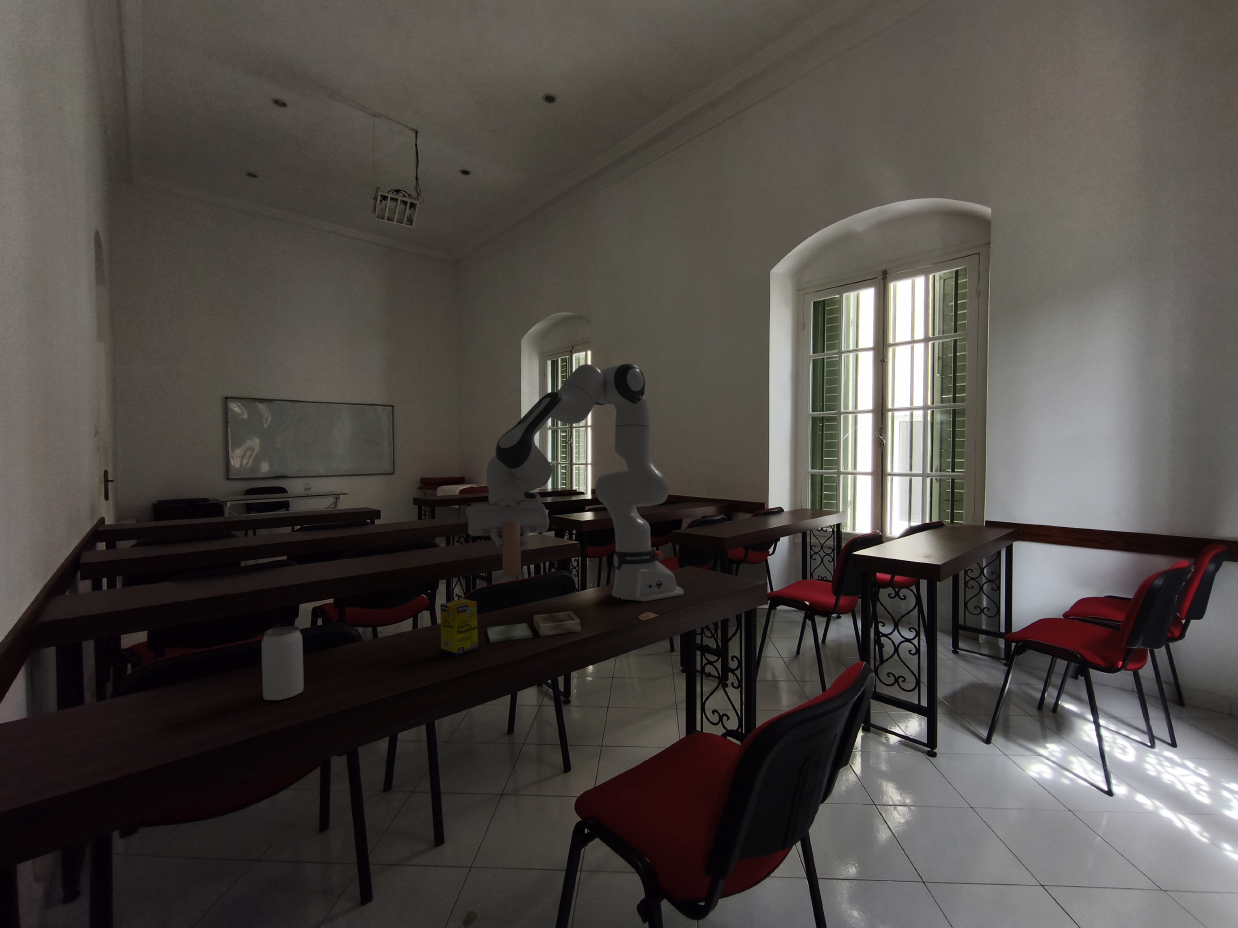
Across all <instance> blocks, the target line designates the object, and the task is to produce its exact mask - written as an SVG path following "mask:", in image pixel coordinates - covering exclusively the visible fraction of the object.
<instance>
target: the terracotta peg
mask: <svg viewBox="0 0 1238 928" xmlns="http://www.w3.org/2000/svg"><path fill="white" fill-rule="evenodd" d="M520 537H521V533H520V521H506V522H502V535H501V538H502V539H503V540H502V541H503V547H501V548H502V576H504V577H516V576H520V575H522V562H521V561H522V560H521V559H522V558H521V557H522V556H521V555H522V553H521V550H522V549H521V547H522V546H520Z"/></svg>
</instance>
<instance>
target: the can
mask: <svg viewBox="0 0 1238 928" xmlns="http://www.w3.org/2000/svg"><path fill="white" fill-rule="evenodd" d="M263 635H264V637H263V638H262V640H261V667H262V668H261V670H262V671H261V673H262V674H261V675H262V678H261V679H262V696H263V697H262V698H263V699H264V700H265V701H266V700H282V699H286V698H290V697H293V696H295V695H297V694H299V693H301V694H302V692H303V691H304V654H303V653H304V651H303V650H304V649H303V636H302V634H301V631H300V627H299V626H291V625H290V626H282V627H276V628H272V629H269V630H267V631H265V632H264V633H263ZM299 695H300V694H299Z"/></svg>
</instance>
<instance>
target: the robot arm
mask: <svg viewBox="0 0 1238 928" xmlns="http://www.w3.org/2000/svg"><path fill="white" fill-rule="evenodd" d="M645 388H646V379H645V375H644V373H643V371H642V369H641V368H640V367H639V366H638V365H637V364H632V363H623V364H620V365H614V366H610V367H607V368H605V369H601V370H600V369H599V368H598V367H597V366H595V365H592V364H589V363H588V364H587V363H583V364H581V365H579V366H578V367H577V368H575V369H574V370H573V372H571V373H570V375H569V376H568V377H567V378H566V380H565V381H564V382H563V384H562V385H561V387H560V388H559V389H558V390H557V391H550V392H547V393H546V394H545V395H543V396H542V397H540V399H538V401H537V402H536V403H535V404H534V405H533V406H532V407H531V408H530V409H529V410H528V411H527V412H526V413H525V414H524V415H523V417H522V418H521V419H520V420H518V421H517V422H516V423H515V425H514V426H513V427H511V428H510V429H509V430H507V431H506V432H505V433H504V434H502V435H501V437H499V439H498V440H497V443H496V447H495V455H493V456H492V457H491V458H490V459H489V462H488V464H487V467H486V486H487V489H488V494H487V496H488V497H487V498H488V503H478V504H477V503H474V504H473V503H472V504H471V505H468V506H467V507H466V509H465V516H466V517H467V518H468V522H467V523H468V524H467V525H468V526H467V527H468V530H467V532H468V534H469V535H470V536H471V537H478V536H480V537H482V536H490V538H491V540H493V542H495V546H496V547H495V548H502V547H503V541H502V540H503V539H502V537H499V536H498V535H501V536H502V522H506V521H520V534H522V535H520V547H523V546H527V540H528V537H529V535H530V534H533V533H534V534H535V533H536V534H537V533H539V534H540V533H546V532H547V530H549V525H550V519H549V514H548V512H547V509H546V507H545V505H544V504H543V503H542V502H541V496H540V494H539V493H536V492H532V491H534V490H538V489H540V488H542V487H543V486H545V485H546V484H547V483H548V482H549V480H550V479H551V477H552V476H553V475H552V474H553V466H552V463H550V461H549V459H548V458H547V456H545V454H544V453H543V452H542V451H541V450H540V449H539V447H538V446H537V445H536V442H535V436H536V434H537V433H538V432H539V431H540V430H541V429H542V428H543V427H544V425H545V424H546V423H547V422H548V421H549V420H550V419H552V418H553V419H555V420H556V421H559V422H560V423H563V424H569V425H575V424H579V423H581V422H582V423H583V421H585V420H586V419H587V417H588V416H589V415H590V413H591V412H592V410H593V408H594V406H595V405H596V406H597V405H598V406H605V405H613V406H614V409H615V413H616V414H615V426H614V427H615V428H614V450H615V453H616V454H617V455H618V456H619V457H620V458H621V459H623V460H624V461H625V463H626V467H627V471H625V470H624V471H611V472H610V471H609V472H607V473H603V474H601V475H600V476H599V477H598V478H597V480H596V483H595V488H594V489H595V491H594V492H595V494H596V497H597V499H598V500H599V501H600V502H601V503H602V505H604V506H605V508H606V509H607V511H608V513H609V515H610V517H611V520H612V523H613V528H614V540H615V550H614V557H613V559H614V560H613V563H614V568H615V575H614V584H613V589H612V594H611V596H612V595H613V596H614V597H613V596H612V597H613V598H615V597H617V598H616V599H619V598H621V599H620V600H627V601H628V600H630V601H637V602H649V601H655V600H660V599H666V598H671V597H678V596H683V595H684V589H683V588H682V587H680V586H678V585H677V581H676V577H675V575H674V573H673V572H672V570H670V569H668V568H667V567H666V566H664V565H663V564H662V563H660V562H659V561H658V560H657V559H661V558H662V556H663V553H662V551H659V550H654V549H652V548H651V545H652V541H651V540H652V539H651V526H650V524H649V522H648V521H647V520H646V519H644V518H642V517H641V515H640V513H639V512H638V510H637V507H652V506H656V505H661V504H663V503H664V502H665V501H666V500H667V498H668V496H669V494H670V484H669V480H668V479H667V477H666V476H665V474H664V473H663V472H661V471H660V470H659V469H658V467H657V466H656V464H655V462H654V459H653V455H652V453H651V417H650V409H649V403H648V399H647V398H646V396H645V390H646V389H645Z"/></svg>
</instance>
